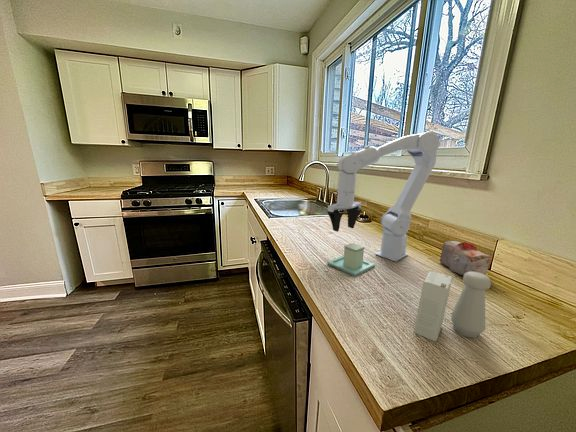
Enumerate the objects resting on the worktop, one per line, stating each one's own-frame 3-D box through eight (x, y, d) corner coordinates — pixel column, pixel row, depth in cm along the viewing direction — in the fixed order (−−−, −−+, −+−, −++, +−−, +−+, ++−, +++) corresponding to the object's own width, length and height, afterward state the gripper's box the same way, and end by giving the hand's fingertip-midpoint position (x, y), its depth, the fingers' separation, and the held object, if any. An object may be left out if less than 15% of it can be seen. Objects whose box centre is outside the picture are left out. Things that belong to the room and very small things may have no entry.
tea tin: (351, 261, 82) (352, 243, 80) (362, 265, 78) (364, 247, 77) (342, 264, 79) (344, 246, 77) (354, 269, 76) (356, 250, 74)
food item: (491, 281, 70) (498, 250, 68) (466, 282, 70) (473, 251, 67) (456, 262, 84) (461, 235, 81) (434, 262, 83) (439, 236, 81)
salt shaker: (489, 343, 46) (504, 283, 43) (456, 338, 47) (469, 280, 44) (473, 323, 52) (485, 269, 49) (444, 320, 53) (454, 266, 50)
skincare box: (419, 318, 53) (427, 269, 51) (442, 327, 51) (453, 276, 48) (412, 333, 49) (421, 280, 46) (438, 344, 46) (448, 288, 43)
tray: (347, 256, 87) (347, 253, 87) (374, 266, 79) (374, 264, 78) (327, 264, 80) (327, 261, 80) (354, 276, 72) (355, 273, 72)
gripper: (339, 194, 74) (336, 235, 78) (369, 191, 82) (365, 228, 85) (324, 191, 80) (322, 230, 83) (353, 189, 88) (350, 224, 91)
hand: (343, 229), depth 85 cm, fingers open, 7 cm apart
